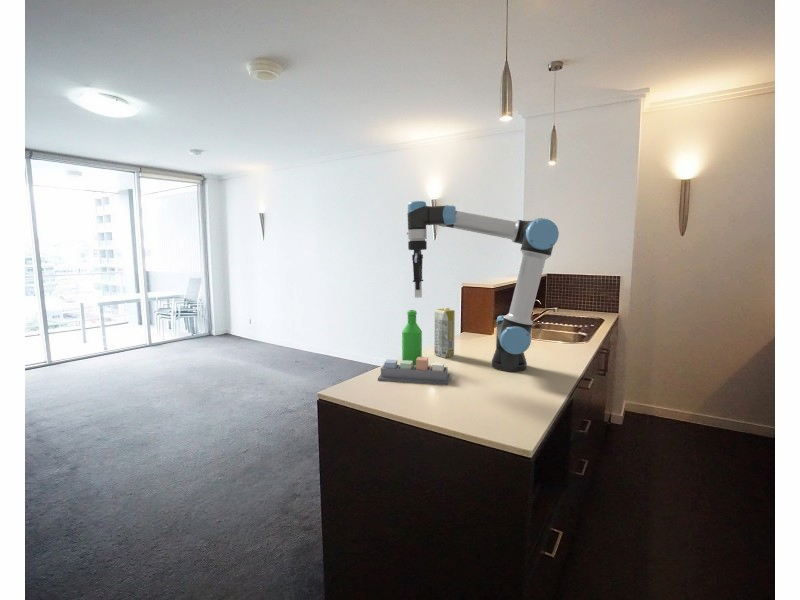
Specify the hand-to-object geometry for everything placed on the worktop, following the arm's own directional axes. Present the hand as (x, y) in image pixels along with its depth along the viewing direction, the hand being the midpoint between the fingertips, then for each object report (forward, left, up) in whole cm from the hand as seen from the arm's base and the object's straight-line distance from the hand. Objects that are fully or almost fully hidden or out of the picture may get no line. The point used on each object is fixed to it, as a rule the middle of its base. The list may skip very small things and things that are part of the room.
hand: (418, 297), depth 169 cm
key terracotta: (-3, +8, -29) cm, 30 cm away
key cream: (-9, +8, -31) cm, 33 cm away
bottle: (+4, -10, -33) cm, 34 cm away
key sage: (+4, +8, -31) cm, 32 cm away
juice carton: (-9, -28, -33) cm, 44 cm away
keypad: (0, +8, -32) cm, 33 cm away
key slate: (+10, +8, -31) cm, 33 cm away
